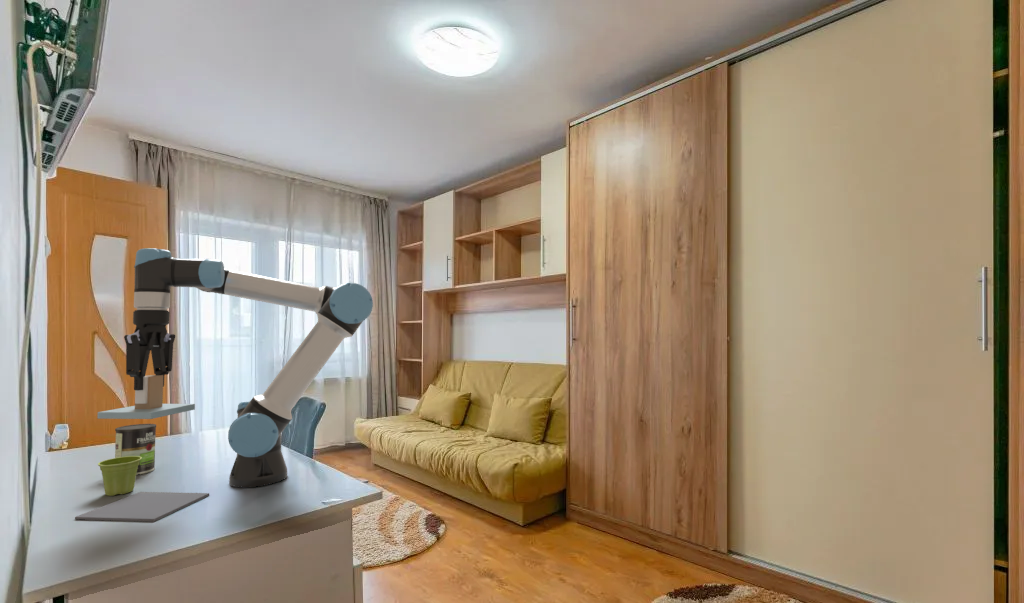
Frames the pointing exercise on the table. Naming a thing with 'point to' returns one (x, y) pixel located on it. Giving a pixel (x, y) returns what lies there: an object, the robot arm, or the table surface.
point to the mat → (143, 506)
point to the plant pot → (119, 474)
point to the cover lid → (148, 405)
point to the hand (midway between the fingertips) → (149, 401)
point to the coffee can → (137, 444)
